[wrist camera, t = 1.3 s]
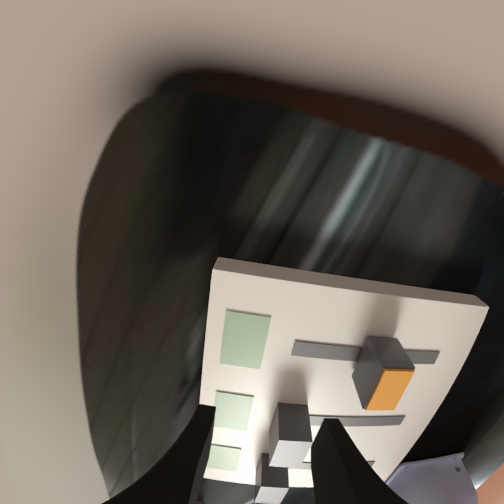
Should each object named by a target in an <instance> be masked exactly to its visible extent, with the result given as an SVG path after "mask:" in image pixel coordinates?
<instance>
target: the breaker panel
mask: <svg viewBox="0 0 504 504" xmlns="http://www.w3.org/2000/svg"><path fill="white" fill-rule="evenodd" d="M488 309H489V306H487V305H486V304H485V303H484V302H483V301H481V300H480V299H479V298H478V297H476V296H475V295H470V294H463V293H456V292H449V291H442V290H435V289H428V288H421V287H414V286H407V285H400V284H393V283H386V282H379V281H372V280H366V279H359V278H352V277H345V276H339V275H332V274H325V273H319V272H312V271H306V270H299V269H293V268H286V267H280V266H273V265H267V264H260V263H254V262H248V261H241V260H235V259H229V258H222V257H218V258H217V260H216V262H215V265H214V267H213V269H212V278H211V287H210V296H209V305H208V315H207V325H206V335H205V346H204V357H203V368H202V380H201V392H200V404H204V405H210V406H215V407H216V413H215V421H214V429H213V437H212V443H211V449H210V455H209V460H208V463H207V467H206V470H205V473H204V477H203V478H208V479H214V480H221V481H228V482H236V483H245V484H255V498H254V503H267V504H280V503H281V501H282V500H283V498H284V496H285V494H286V493H287V491H288V489H289V487H314V486H313V479H312V472H311V445H312V443H313V441H314V439H315V437H316V435H317V433H318V431H319V428H320V426H321V424H322V422H323V420H324V418H338V419H339V420H340V421H341V423H342V425H343V426H344V428H345V430H346V431H347V433H348V434H349V436H350V437H351V439H352V441H353V442H354V444H355V445H356V447H357V448H358V450H359V451H360V452H361V454H362V455H363V457H364V458H365V459H366V461H367V462H368V463H369V465H370V466H371V467H372V468H373V470H374V471H375V472H376V473H377V474H378V476H379V477H380V478H381V479H382V480H383V481H385V480H386V479H387V478H388V477H389V476H390V474H391V473H392V472H393V471H394V470H395V468H396V467H397V466H398V465H399V463H400V462H401V461H402V459H403V458H404V457H405V456H406V454H407V453H408V452H409V450H410V449H411V448H412V446H413V445H414V444H415V442H416V441H417V439H418V438H419V437H420V435H421V434H422V432H423V431H424V429H425V428H426V426H427V425H428V423H429V422H430V420H431V419H432V417H433V416H434V414H435V413H436V411H437V410H438V408H439V406H440V405H441V403H442V401H443V400H444V398H445V397H446V395H447V393H448V391H449V390H450V388H451V386H452V384H453V383H454V381H455V379H456V377H457V375H458V374H459V372H460V370H461V368H462V366H463V364H464V362H465V360H466V358H467V356H468V354H469V352H470V350H471V348H472V346H473V344H474V342H475V339H476V337H477V335H478V333H479V331H480V328H481V326H482V324H483V321H484V319H485V317H486V314H487V312H488ZM367 336H379V337H392V338H397V339H398V340H399V342H400V343H401V345H402V347H403V348H404V350H405V351H406V353H407V355H408V356H409V358H410V359H411V361H412V363H413V364H414V366H415V370H414V371H415V372H414V374H413V376H412V378H411V380H410V382H409V384H408V386H407V388H406V390H405V391H404V393H403V395H402V397H401V399H400V401H399V402H398V404H397V406H396V408H395V410H380V411H366V410H365V409H362V406H361V403H360V400H359V397H358V394H357V391H356V388H355V385H354V382H353V379H352V374H353V371H354V369H355V366H356V364H357V361H358V359H359V356H360V354H361V351H362V348H363V346H364V343H365V340H366V337H367Z"/></svg>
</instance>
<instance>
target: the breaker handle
mask: <svg viewBox="0 0 504 504" xmlns="http://www.w3.org/2000/svg"><path fill="white" fill-rule="evenodd" d="M414 370H415V366H414V364H413V363H412V361H411V359H410V358H409V356H408V355H407V353H406V351H405V350H404V348H403V347H402V345H401V343H400V342H399V340H398V339H397V338H392V337H379V336H367V337H366V340H365V343H364V346H363V348H362V351H361V354H360V356H359V359H358V361H357V364H356V366H355V369H354V371H353V374H352V379H353V382H354V385H355V388H356V391H357V394H358V397H359V400H360V403H361V406H362V409H365V410H366V411H380V410H395V408H396V406H397V404H398V402H399V401H400V399H401V397H402V395H403V393H404V391H405V390H406V388H407V386H408V384H409V382H410V380H411V378H412V376H413V374H414V372H415V371H414Z"/></svg>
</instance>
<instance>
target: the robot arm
mask: <svg viewBox="0 0 504 504" xmlns="http://www.w3.org/2000/svg"><path fill="white" fill-rule="evenodd" d="M215 413H216V407H215V406H210V405H204V404H200V405H198V406H197V409H196V411H195V413H194V415H193V417H192V418H191V420H190V422H189V423H188V425H187V426H186V428H185V429H184V431H183V432H182V434H181V435H180V436H179V438H178V439H177V440H176V442H175V443H174V444H173V445H172V447H171V448H170V449H169V450H168V451H167V452H166V454H165V455H164V456H163V457H162V458H161V459H160V460H159V461H158V462H157V463H156V464H155V465H154V466H153V467H152V468H151V469H150V470H149V471H148V472H147V473H145V474H144V475H143V476H142V477H141V478H140V479H138V480H137V481H136V482H135V483H133V484H132V485H131V486H129V487H128V488H126V489H125V490H123V491H122V492H120V493H119V494H117V495H116V496H114V497H113V498H111V499H109V500H108V501H106V502H104V503H102V504H196V501H197V497H198V494H199V490H200V487H201V484H202V480H203V477H204V473H205V470H206V467H207V463H208V460H209V455H210V449H211V443H212V437H213V429H214V421H215ZM463 457H464V453H463V452H461V453H457V454H452V455H448V456H443V457H437V458H432V459H426V460H420V461H413V462H406V463H401V464H400V465H398V467H397V468H396V469H395V470H394V472H393V473H392V474H391V475H390V476H389V478H388V479H387V480H386V481H385V482H384V481H383V480H382V479H381V478H380V477H379V476H378V474H377V473H376V472H375V471H374V470H373V468H372V467H371V466H370V465H369V463H368V462H367V461H366V459H365V458H364V457H363V455H362V454H361V452H360V451H359V450H358V448H357V447H356V445H355V444H354V442H353V441H352V439H351V437H350V436H349V434H348V433H347V431H346V430H345V428H344V426H343V425H342V423H341V421H340V420H339V419H338V418H324V420H323V422H322V424H321V426H320V428H319V431H318V433H317V435H316V437H315V439H314V441H313V443H312V445H311V472H312V479H313V486H314V493H315V499H316V504H478V498H477V492H476V490H475V488H474V485H473V483H472V481H471V479H470V477H469V475H468V473H467V471H466V468H465V466H464V464H463V462H462V460H461V459H462V458H463Z"/></svg>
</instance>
